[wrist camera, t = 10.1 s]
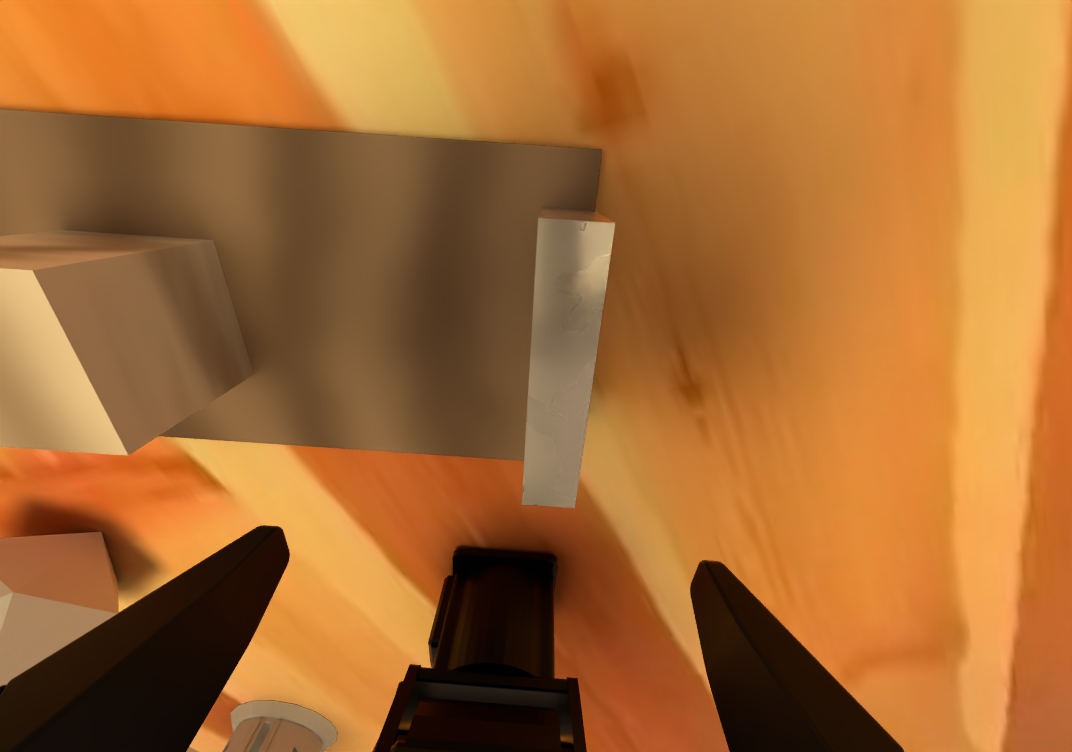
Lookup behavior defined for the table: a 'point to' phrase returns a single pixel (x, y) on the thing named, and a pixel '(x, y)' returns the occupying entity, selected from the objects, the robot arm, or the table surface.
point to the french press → (278, 728)
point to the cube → (111, 338)
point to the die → (51, 595)
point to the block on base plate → (359, 276)
